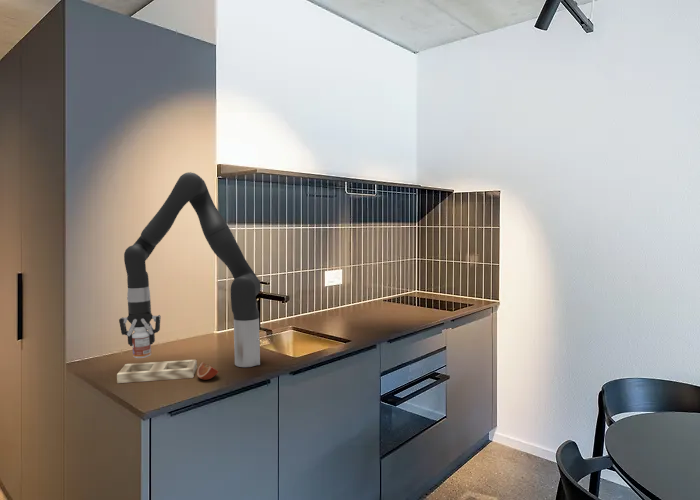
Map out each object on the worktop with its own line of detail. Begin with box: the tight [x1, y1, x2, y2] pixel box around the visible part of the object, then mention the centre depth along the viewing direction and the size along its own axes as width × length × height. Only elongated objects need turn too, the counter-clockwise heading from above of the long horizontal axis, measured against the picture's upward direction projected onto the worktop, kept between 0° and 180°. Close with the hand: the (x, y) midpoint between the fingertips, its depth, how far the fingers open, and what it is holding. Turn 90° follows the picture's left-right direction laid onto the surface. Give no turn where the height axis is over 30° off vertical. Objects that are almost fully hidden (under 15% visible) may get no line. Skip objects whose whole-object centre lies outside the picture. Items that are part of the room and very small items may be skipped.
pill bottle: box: [131, 327, 152, 359], centre depth 171 cm, size 6×6×11 cm
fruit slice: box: [196, 361, 219, 381], centre depth 159 cm, size 8×7×5 cm
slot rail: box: [116, 359, 198, 384], centre depth 162 cm, size 24×11×3 cm, turn 102°
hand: (141, 344), depth 171 cm, fingers closed on pill bottle, 6 cm apart
